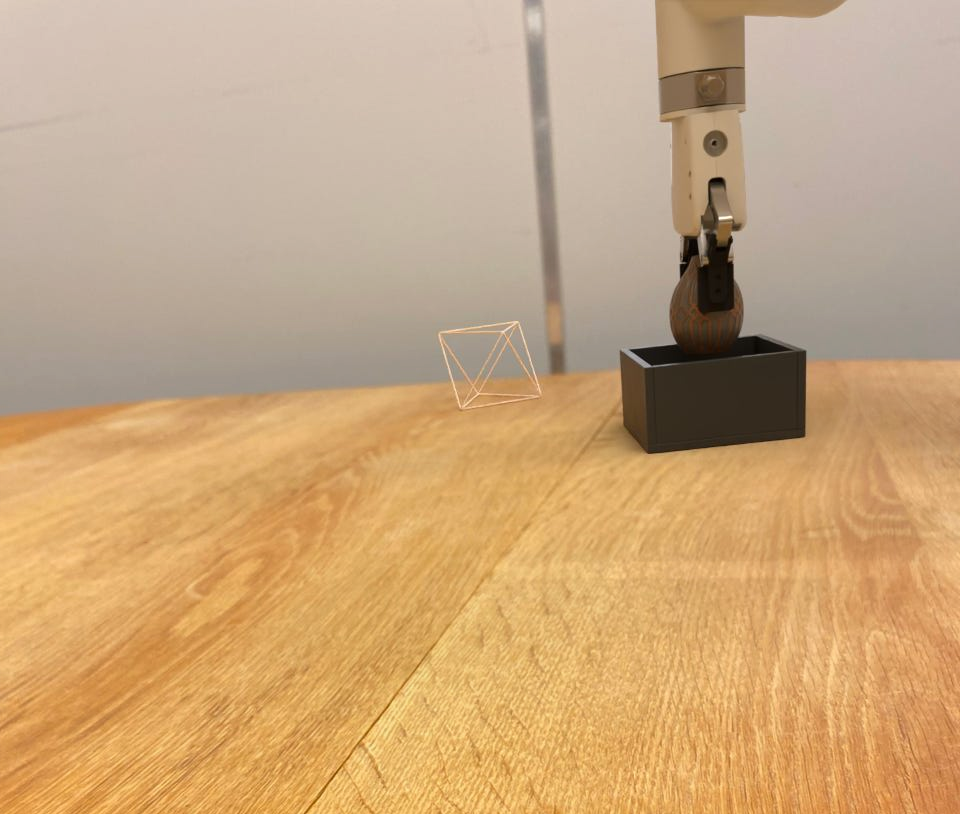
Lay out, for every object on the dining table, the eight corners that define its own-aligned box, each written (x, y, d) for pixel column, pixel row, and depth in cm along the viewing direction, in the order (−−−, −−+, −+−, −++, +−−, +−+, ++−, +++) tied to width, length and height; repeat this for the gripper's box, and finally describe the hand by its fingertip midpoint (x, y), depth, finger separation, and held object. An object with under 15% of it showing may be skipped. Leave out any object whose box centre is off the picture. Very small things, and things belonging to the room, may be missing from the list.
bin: (761, 410, 112) (761, 334, 109) (805, 436, 98) (806, 350, 95) (623, 425, 112) (619, 349, 109) (648, 453, 98) (644, 367, 95)
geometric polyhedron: (439, 401, 139) (430, 330, 136) (517, 388, 142) (510, 318, 138) (467, 414, 128) (458, 337, 124) (551, 400, 131) (545, 324, 127)
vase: (741, 354, 98) (740, 253, 95) (666, 359, 100) (662, 261, 97) (746, 344, 104) (745, 249, 101) (675, 349, 106) (671, 256, 103)
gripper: (772, 82, 86) (772, 311, 92) (720, 104, 102) (723, 297, 108) (679, 92, 86) (686, 320, 92) (642, 112, 102) (650, 305, 109)
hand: (706, 306), depth 100 cm, fingers closed on vase, 6 cm apart
